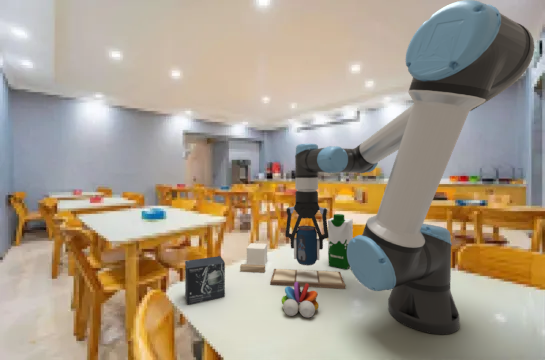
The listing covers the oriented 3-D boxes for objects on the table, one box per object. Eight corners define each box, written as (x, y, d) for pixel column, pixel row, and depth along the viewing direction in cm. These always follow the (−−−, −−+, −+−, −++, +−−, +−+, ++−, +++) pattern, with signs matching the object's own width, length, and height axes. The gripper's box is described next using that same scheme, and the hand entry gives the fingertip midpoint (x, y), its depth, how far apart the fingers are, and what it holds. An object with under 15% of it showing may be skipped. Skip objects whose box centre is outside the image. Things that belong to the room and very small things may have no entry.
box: (187, 306, 66) (186, 268, 66) (184, 295, 72) (184, 260, 72) (225, 297, 71) (225, 261, 71) (220, 288, 77) (220, 255, 77)
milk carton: (325, 266, 94) (325, 214, 94) (333, 259, 102) (333, 211, 102) (348, 271, 90) (348, 216, 89) (354, 263, 97) (354, 213, 97)
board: (345, 288, 76) (345, 284, 76) (270, 284, 79) (270, 280, 79) (340, 274, 87) (340, 270, 87) (274, 271, 90) (274, 267, 90)
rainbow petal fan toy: (318, 322, 59) (318, 292, 59) (278, 317, 61) (278, 288, 61) (319, 303, 67) (319, 277, 67) (284, 300, 69) (284, 274, 69)
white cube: (264, 248, 94) (267, 243, 101) (246, 248, 95) (250, 243, 102) (264, 266, 95) (267, 260, 101) (246, 266, 95) (250, 259, 102)
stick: (264, 272, 89) (264, 267, 89) (240, 271, 90) (240, 266, 90) (265, 270, 91) (265, 265, 91) (241, 269, 92) (241, 264, 92)
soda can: (316, 259, 86) (316, 225, 86) (317, 266, 79) (317, 229, 79) (296, 258, 87) (296, 224, 86) (296, 265, 80) (296, 229, 79)
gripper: (335, 189, 85) (335, 255, 85) (278, 189, 87) (278, 253, 88) (338, 191, 77) (338, 263, 78) (276, 191, 80) (276, 260, 80)
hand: (306, 258), depth 83 cm, fingers closed on soda can, 7 cm apart
